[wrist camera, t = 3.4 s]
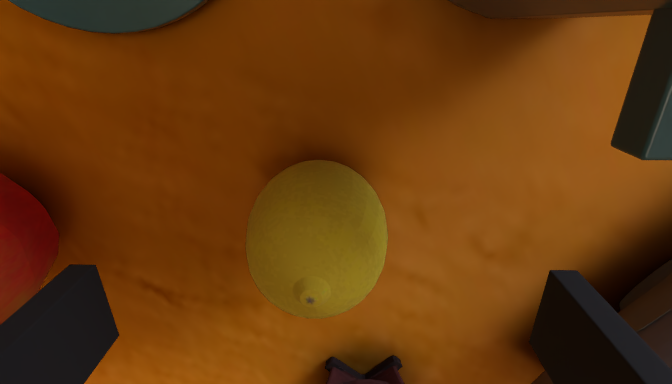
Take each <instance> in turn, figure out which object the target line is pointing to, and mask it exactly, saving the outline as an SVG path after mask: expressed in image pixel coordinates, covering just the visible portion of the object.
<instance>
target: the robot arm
mask: <svg viewBox="0 0 672 384" xmlns="http://www.w3.org/2000/svg"><path fill="white" fill-rule="evenodd" d="M118 336H119V333H118V330H117V327H116V324H115V321H114V318H113V315H112V312H111V309H110V306H109V303H108V300H107V297H106V294H105V291H104V288H103V285H102V282H101V279H100V276H99V273H98V270H97V267H96V265H69V266H68V267H67V268H65V269H64V270H63V271H62V272H61V273H60V274H59V275H57V276H56V277H55V278H54V279H53V280H52V281H50V282H49V283H48V284H47V285H46V286H45V287H43V288H42V289H41V290H40V291H39V292H38V293H37V294H35V295H34V296H33V297H32V298H31V299H30V300H28V301H27V302H26V303H25V304H24V305H23V306H22V307H20V308H19V309H18V310H17V311H16V312H15V313H13V314H12V315H11V316H10V317H9V318H8V319H7V320H5V321H4V322H3V323H2V324H1V325H0V384H84V383H85V381H86V380H87V379H88V377H89V376H90V375H91V373H92V372H93V370H94V369H95V368H96V366H97V365H98V364H99V362H100V361H101V360H102V358H103V357H104V355H105V354H106V353H107V351H108V350H109V349H110V347H111V346H112V344H113V343H114V342H115V340H116V339H117V338H118ZM529 343H530V345H531V346H532V348H533V350H534V351H535V353H536V355H537V357H538V358H539V360H540V362H541V363H542V365H543V367H544V369H545V370H546V372H547V374H548V375H549V377H550V379H551V381H552V382H553V384H672V370H671V369H670V368H669V367H668V365H667V364H666V363H665V362H664V361H663V360H662V359H661V358H660V357H659V356H658V355H657V354H656V353H655V352H654V351H653V350H652V349H651V348H650V347H649V345H648V344H647V343H646V342H645V341H644V340H643V339H642V338H641V337H640V336H639V335H638V334H637V333H636V332H635V331H634V330H633V329H632V328H631V327H630V326H629V324H628V323H627V322H626V321H625V320H624V319H623V318H622V317H621V316H620V315H619V314H618V313H617V312H616V311H615V310H614V309H613V308H612V307H611V306H610V304H609V303H608V302H607V301H606V300H605V299H604V298H603V297H602V296H601V295H600V294H599V293H598V292H597V291H596V290H595V289H594V288H593V287H592V286H591V284H590V283H589V282H588V281H587V280H586V279H585V278H584V277H583V276H582V275H581V274H580V273H579V272H578V271H574V270H550V272H549V275H548V279H547V282H546V285H545V289H544V292H543V296H542V299H541V302H540V306H539V309H538V313H537V316H536V319H535V323H534V326H533V330H532V333H531V336H530V340H529Z"/></svg>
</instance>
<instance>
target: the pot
mask: <svg viewBox="0 0 672 384" xmlns="http://www.w3.org/2000/svg"><path fill="white" fill-rule="evenodd" d="M448 1H450V2H452V3H453V4H455V5H457V6H459V7H461V8H464V9H466V10H469V11H472V12H474V13H477V14H480V15H482V16H484V17H486V18H491V19H519V18H573V17H600V16H627V15H652V16H651V19H650V23H649V26H648V29H647V32H646V35H645V38H644V41H643V44H642V47H641V50H640V54H639V57H638V60H637V63H636V66H635V69H634V72H633V75H632V78H631V81H630V85H629V88H628V91H627V94H626V97H625V100H624V103H623V106H622V109H621V112H620V116H619V119H618V122H617V125H616V128H615V131H614V134H613V137H612V140H611V146H612V147H614V148H616V149H619V150H621V151H623V152H625V153H628V154H630V155H632V156H634V157H637V158H639V159H641V160H672V0H448Z"/></svg>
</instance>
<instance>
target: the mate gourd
mask: <svg viewBox="0 0 672 384" xmlns="http://www.w3.org/2000/svg"><path fill="white" fill-rule="evenodd" d="M401 367H402V364H401V361H400V359H399V358H397V357H396V356H391V357H390V358H388V359H387V360H385V361H384V362H382V363H381V364H380V365H378V366H377V367H375V368H374V369H373V370H371V371H370V372H368V373H367V374H365V375H361V374H360V373H358V372H356V371H355V370H353V369H352V368H350V367H349V366H347V365H346V364H344V363H343V362H341V361H340V360H338V359H336V358H335V357H331V358H330V359H328V360H327V361H326V366H325V369H327V370H328V371H329V372H330V373H329V376H328V380H327V382H326V384H404V382H403V380H402V378H401V376H400V374H399V372H398V370H399V369H400V368H401Z"/></svg>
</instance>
